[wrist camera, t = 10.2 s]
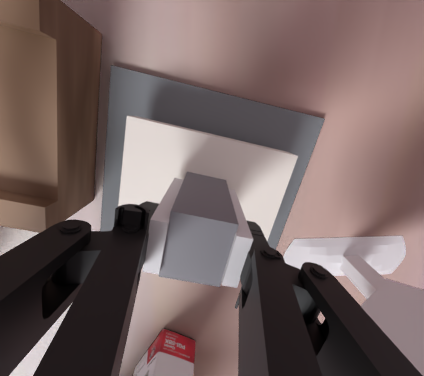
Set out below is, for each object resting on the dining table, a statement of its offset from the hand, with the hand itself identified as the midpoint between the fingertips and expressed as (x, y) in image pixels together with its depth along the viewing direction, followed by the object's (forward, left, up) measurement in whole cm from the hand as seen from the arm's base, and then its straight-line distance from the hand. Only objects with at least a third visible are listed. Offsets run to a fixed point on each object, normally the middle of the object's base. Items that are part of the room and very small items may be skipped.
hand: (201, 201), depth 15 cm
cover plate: (0, 0, -3) cm, 3 cm away
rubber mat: (0, 0, -5) cm, 5 cm away
